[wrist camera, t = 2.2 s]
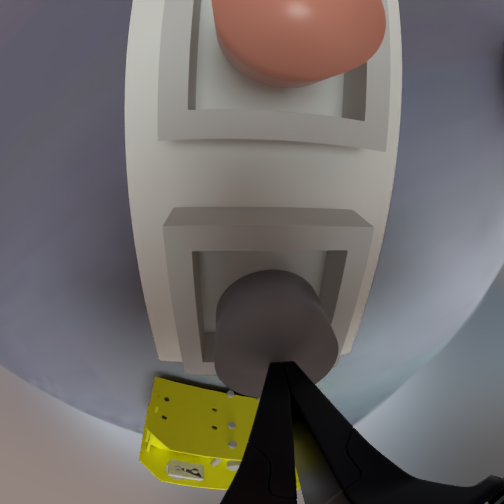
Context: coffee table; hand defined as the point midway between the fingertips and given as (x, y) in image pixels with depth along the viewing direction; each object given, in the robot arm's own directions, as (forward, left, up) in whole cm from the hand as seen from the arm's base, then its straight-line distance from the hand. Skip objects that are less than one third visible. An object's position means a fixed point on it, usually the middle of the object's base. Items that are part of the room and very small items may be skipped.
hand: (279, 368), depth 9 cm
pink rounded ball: (0, -11, -3) cm, 11 cm away
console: (0, -5, -8) cm, 10 cm away
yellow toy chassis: (+1, +15, -9) cm, 18 cm away
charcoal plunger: (0, 0, -3) cm, 3 cm away
